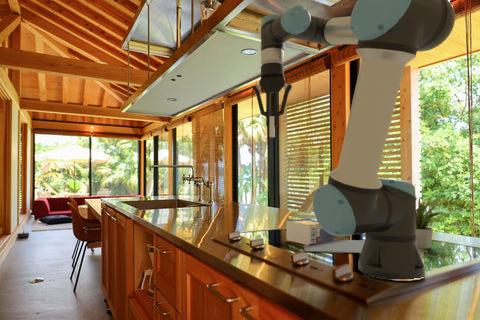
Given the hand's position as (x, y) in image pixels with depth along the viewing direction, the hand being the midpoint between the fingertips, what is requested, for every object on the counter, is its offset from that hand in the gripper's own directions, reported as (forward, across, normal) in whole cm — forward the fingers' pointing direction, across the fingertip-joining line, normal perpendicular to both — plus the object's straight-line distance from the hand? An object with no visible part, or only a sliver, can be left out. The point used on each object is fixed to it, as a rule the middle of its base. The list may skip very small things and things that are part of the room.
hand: (272, 136), depth 110 cm
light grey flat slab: (+36, -21, -6) cm, 42 cm away
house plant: (+36, -48, -10) cm, 61 cm away
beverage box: (+32, -8, -8) cm, 34 cm away
